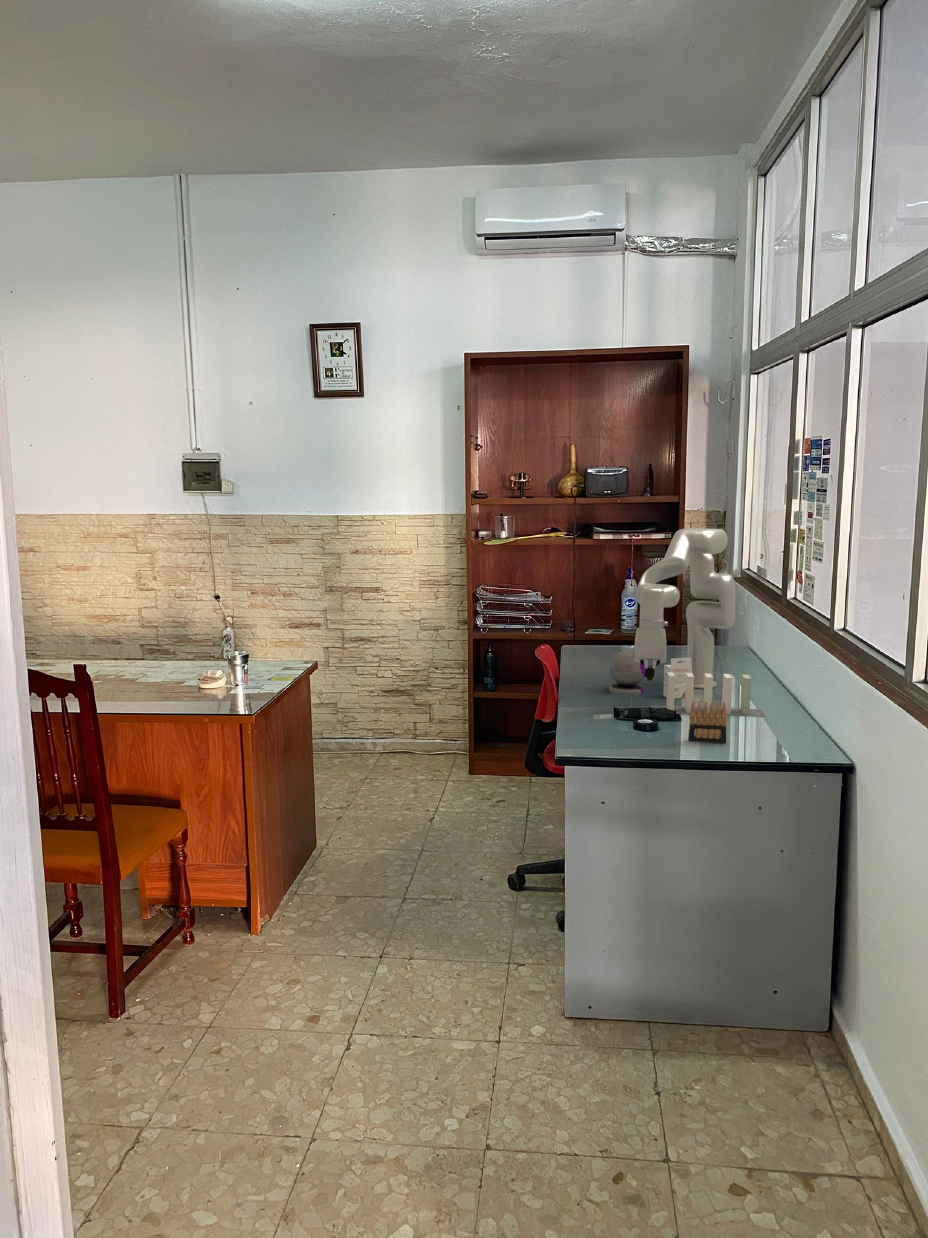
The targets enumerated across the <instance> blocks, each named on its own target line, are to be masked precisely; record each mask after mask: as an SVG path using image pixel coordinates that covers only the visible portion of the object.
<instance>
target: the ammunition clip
mask: <svg viewBox="0 0 928 1238" xmlns="http://www.w3.org/2000/svg"><path fill="white" fill-rule="evenodd" d="M695 703H696V702H695V701H694V700H693V702H692V705H691V713H690V714H689V728H688V742H692V743H693V742H694V743H695V742H696V743H713V744H714V743H715V744H717V743H718V744H727V720H728V717H727V716H726V704H725V702H724V703H723V707H722V706H721V705H720V702H719V701H717V703H716V706H714V703H713V701H712V702H711V705H710V711H709V715H708V706H707V702H705V704H704V709H703V715H702V714H701V707H702V702H701V701H700V700H699V701H698V703H697V706H696V704H695ZM695 707H697V714H696V715H695ZM714 708H716V713H715V715H714ZM720 708H722V715H720Z"/></svg>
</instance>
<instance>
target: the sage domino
mask: <svg viewBox="0 0 928 1238" xmlns="http://www.w3.org/2000/svg"><path fill="white" fill-rule="evenodd" d="M751 691H752V677H751V676H750V675H749V674H741V684H740V705H739V706H740V707H739V709H740V711H741V712H742V714H743V715H750V709H751Z"/></svg>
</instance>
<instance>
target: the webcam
mask: <svg viewBox="0 0 928 1238" xmlns="http://www.w3.org/2000/svg"><path fill="white" fill-rule="evenodd" d="M634 656H635V653H634V650H630V649H629V650H628V649H627V650H622V651H619V652H618V653H616V654H615V655H614V656H613V657H612V659H611V661H610V665H609V672H610V676H611V677H612V680H614V681H615V683H612V684H610V686H609V687H608V688H609V692H610V693H612V694H616V695H626V696H627V695H628V696H630V695H631V696H640V695H641V694H643V693H644V687H642V685H641V684H640V682H642V681H643V680H644V678H646V677H645V667H644V666H643V665H642V664H641V663H638V662H635V661H634Z"/></svg>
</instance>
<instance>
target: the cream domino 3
mask: <svg viewBox="0 0 928 1238" xmlns="http://www.w3.org/2000/svg"><path fill="white" fill-rule="evenodd" d="M713 681H714V676H712V675H711V674H709V673H705V674H704V688H703V700H702V702H703V704H702V707H703V709H704V704H705V702H707V706H708V713H709V711H710V705H711V702H713V688H714V687H713Z"/></svg>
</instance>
